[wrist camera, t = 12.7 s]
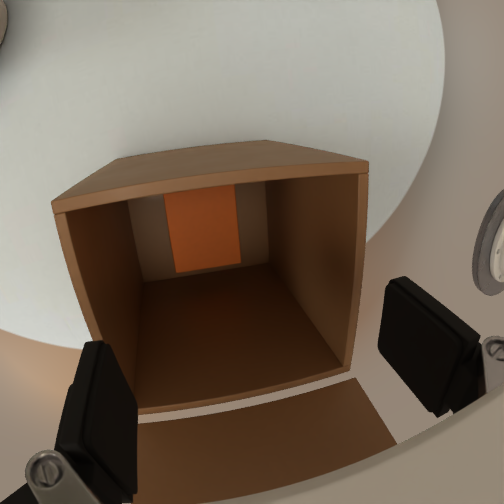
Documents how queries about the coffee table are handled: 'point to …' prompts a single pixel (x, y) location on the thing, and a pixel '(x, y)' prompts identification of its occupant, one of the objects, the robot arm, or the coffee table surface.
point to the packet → (203, 228)
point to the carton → (221, 271)
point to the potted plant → (2, 19)
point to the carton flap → (257, 446)
